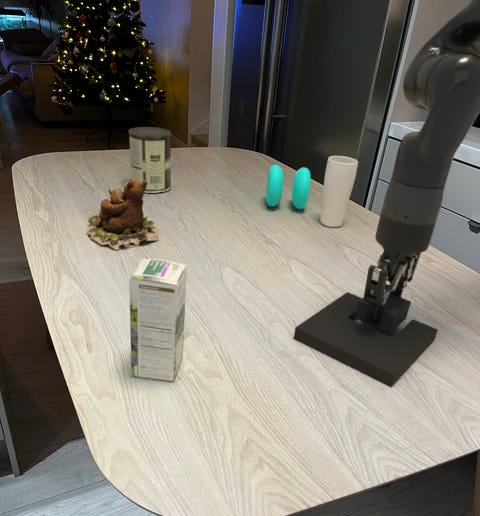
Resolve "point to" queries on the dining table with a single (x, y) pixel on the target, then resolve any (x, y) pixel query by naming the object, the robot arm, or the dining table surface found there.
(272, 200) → the teal wheel pair
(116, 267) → the dining table surface
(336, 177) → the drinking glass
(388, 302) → the graphite block
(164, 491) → the dining table surface
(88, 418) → the dining table surface
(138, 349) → the syrup box
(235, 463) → the dining table surface
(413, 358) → the black notched slab
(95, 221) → the bear figurine
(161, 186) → the coffee can
